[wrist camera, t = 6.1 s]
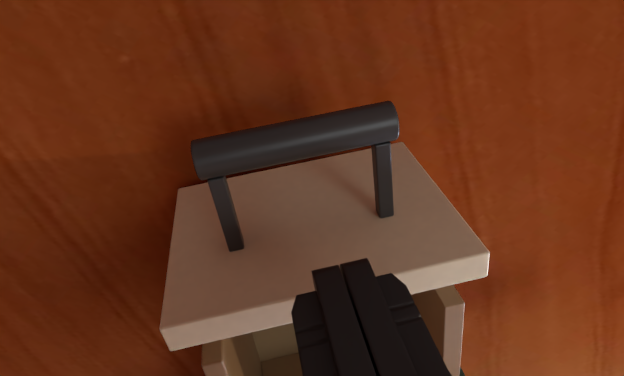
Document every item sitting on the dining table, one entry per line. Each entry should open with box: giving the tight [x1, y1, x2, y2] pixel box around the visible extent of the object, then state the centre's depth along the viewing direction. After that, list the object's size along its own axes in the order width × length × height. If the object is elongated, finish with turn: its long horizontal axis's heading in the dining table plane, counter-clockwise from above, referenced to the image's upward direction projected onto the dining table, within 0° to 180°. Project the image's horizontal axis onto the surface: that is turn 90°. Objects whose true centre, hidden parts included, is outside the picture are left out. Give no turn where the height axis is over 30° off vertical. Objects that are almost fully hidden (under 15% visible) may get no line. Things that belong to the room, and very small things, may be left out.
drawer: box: [159, 101, 490, 376], centre depth 21 cm, size 18×11×9 cm, turn 8°
